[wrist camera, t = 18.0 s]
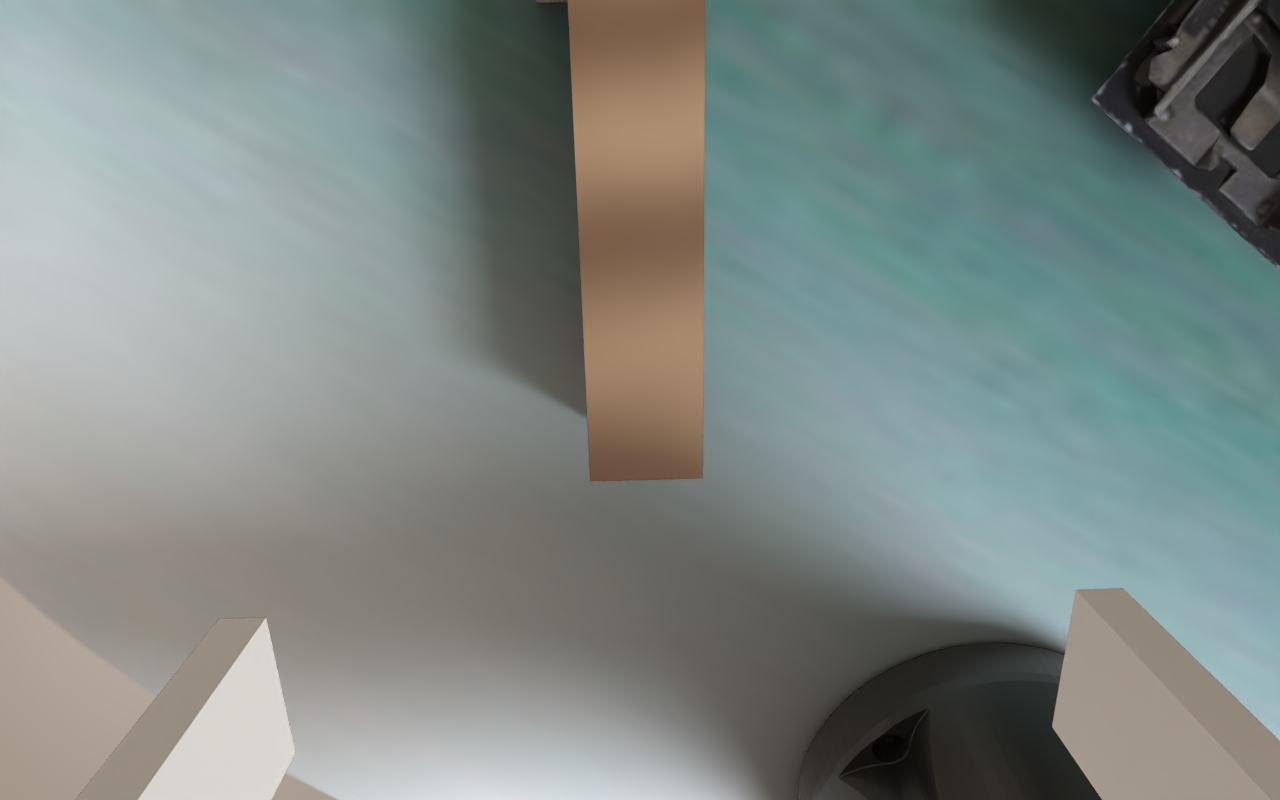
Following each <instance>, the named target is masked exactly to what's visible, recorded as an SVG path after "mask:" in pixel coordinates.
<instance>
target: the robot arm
mask: <svg viewBox="0 0 1280 800" xmlns="http://www.w3.org/2000/svg"><path fill="white" fill-rule="evenodd" d="M294 755H295V748H294V744H293V739H292V735H291V730H290V725H289V721H288V716H287V711H286V707H285V702H284V697H283V693H282V688H281V684H280V679H279V674H278V670H277V665H276V660H275V656H274V651H273V646H272V642H271V637H270V633H269V628H268V623H267V619H266V617H261V618H232V619H218V621H217V622H216V623H215V624H214V626H213V627H212V628H211V629H210V631H209V632H208V633H207V634H206V636H205V637H204V638H203V639H202V641H201V642H200V643H199V644H198V646H197V647H196V648H195V649H194V651H193V652H192V653H191V654H190V656H189V657H188V658H187V660H186V661H185V662H184V663H183V665H182V666H181V667H180V668H179V670H178V671H177V672H176V673H175V675H174V676H173V677H172V678H171V680H170V681H169V682H168V683H167V685H166V686H165V687H164V688H163V690H162V691H161V692H160V694H159V695H158V696H157V697H156V699H155V700H154V701H153V702H152V704H151V705H150V706H149V707H148V709H147V710H146V711H145V712H144V714H143V715H142V716H141V717H140V719H139V720H138V721H137V722H136V724H135V725H134V726H133V727H132V729H131V730H130V731H129V733H128V734H127V735H126V736H125V738H124V739H123V740H122V741H121V743H120V744H119V745H118V747H117V748H116V749H115V750H114V751H113V753H112V754H111V755H110V756H109V758H108V759H107V760H106V762H105V763H104V764H103V765H102V767H101V768H100V769H99V770H98V772H97V773H96V774H95V775H94V777H93V778H92V779H91V780H90V782H89V783H88V784H87V785H86V787H85V788H84V789H83V790H82V792H81V793H80V794H79V795H78V797H77V798H76V799H75V800H272V798H273V796H274V794H275V792H276V790H277V788H278V786H279V784H280V782H281V780H282V778H283V776H284V774H285V772H286V770H287V769H288V767H289V765H290V763H291V761H292V759H293V757H294ZM798 800H1280V740H1278V739H1277V738H1276V737H1275V736H1274V735H1273V734H1272V733H1271V732H1270V731H1269V730H1268V729H1267V728H1266V727H1265V726H1264V725H1263V724H1262V723H1261V722H1260V721H1259V720H1258V719H1257V718H1256V717H1255V716H1254V715H1253V714H1252V713H1251V712H1250V711H1249V710H1248V709H1247V708H1246V707H1245V706H1244V705H1242V704H1241V703H1240V702H1239V701H1238V700H1237V699H1236V698H1235V697H1234V696H1233V695H1232V694H1231V693H1230V692H1229V691H1228V690H1227V689H1226V688H1225V687H1224V686H1223V685H1222V684H1221V683H1220V682H1219V681H1218V680H1217V679H1216V678H1215V677H1214V676H1213V675H1212V674H1211V673H1210V672H1209V671H1208V670H1206V669H1205V668H1204V667H1203V666H1202V665H1201V664H1200V663H1199V662H1198V661H1197V660H1196V659H1195V658H1194V657H1193V656H1192V655H1191V654H1190V653H1189V652H1188V651H1187V650H1186V649H1185V648H1184V647H1183V646H1182V645H1181V644H1180V643H1179V642H1178V641H1177V640H1176V639H1175V638H1174V637H1173V636H1172V635H1170V634H1169V633H1168V632H1167V631H1166V630H1165V629H1164V628H1163V627H1162V626H1161V625H1160V624H1159V623H1158V622H1157V621H1156V620H1155V619H1154V618H1153V617H1152V616H1151V615H1150V614H1149V613H1148V612H1147V611H1146V610H1145V609H1144V608H1143V607H1142V606H1141V605H1140V604H1139V603H1138V602H1137V601H1136V600H1134V599H1133V598H1132V597H1131V596H1130V595H1129V594H1128V593H1127V592H1126V591H1125V590H1124V589H1123V588H1113V589H1083V590H1076V591H1075V597H1074V603H1073V609H1072V614H1071V620H1070V626H1069V632H1068V637H1067V643H1066V649H1065V655H1062V654H1059V653H1057V652H1053V651H1050V650H1046V649H1042V648H1037V647H1033V646H1026V645H1019V644H1005V643H989V644H974V645H966V646H959V647H954V648H949V649H945V650H940V651H936V652H933V653H930V654H926V655H923V656H920V657H918V658H915V659H912V660H910V661H907V662H905V663H903V664H901V665H898V666H896V667H894V668H892V669H890V670H888V671H887V672H885V673H883V674H881V675H880V676H878V677H876V678H875V679H873V680H871V681H870V682H869V683H867V684H866V685H864V686H863V687H861V688H860V689H859V690H858V691H856V692H855V693H854V694H852V695H851V696H850V697H849V698H848V699H847V700H846V701H845V702H844V703H842V704H841V705H840V707H839V708H838V709H837V710H836V711H835V712H834V713H833V714H832V715H831V716H830V718H829V719H828V720H827V721H826V722H825V724H824V725H823V727H822V728H821V729H820V731H819V732H818V734H817V736H816V737H815V739H814V741H813V742H812V744H811V746H810V748H809V750H808V753H807V755H806V758H805V760H804V763H803V767H802V770H801V774H800V779H799V786H798Z"/></svg>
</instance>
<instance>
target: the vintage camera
mask: <svg viewBox="0 0 1280 800" xmlns="http://www.w3.org/2000/svg"><path fill="white" fill-rule="evenodd" d="M1091 101H1092V102H1093V103H1094V104H1095V105H1097V106H1098V107H1099V108H1100V109H1101V110H1102V111H1103V112H1105V113H1106V114H1107V115H1108V116H1109V117H1110V118H1111V119H1112V120H1114V121H1115V122H1116V123H1117V124H1118V125H1119V126H1120V127H1122V128H1123V129H1124V130H1125V131H1126V132H1127V133H1128V134H1129V135H1131V136H1132V137H1133V138H1134V139H1135V140H1136V141H1137V142H1138V143H1140V144H1141V145H1142V146H1143V147H1144V148H1145V149H1146V150H1147V151H1149V152H1150V153H1151V154H1152V155H1153V156H1154V157H1155V158H1156V159H1157V160H1159V161H1160V162H1161V163H1162V164H1163V165H1164V166H1165V167H1166V168H1167V169H1168V170H1170V171H1171V172H1172V173H1173V174H1174V175H1175V176H1176V177H1177V178H1178V179H1179V180H1180V181H1181V182H1182V183H1184V184H1185V185H1186V186H1187V187H1188V188H1189V189H1190V190H1191V191H1192V192H1193V193H1194V194H1195V195H1196V196H1198V197H1199V198H1200V199H1201V200H1202V201H1203V202H1204V203H1205V204H1206V205H1207V206H1209V207H1210V208H1211V209H1212V210H1213V211H1214V212H1215V213H1216V214H1217V215H1218V216H1219V217H1221V218H1222V219H1223V220H1224V221H1225V222H1226V223H1227V224H1228V225H1229V226H1230V227H1232V228H1233V229H1234V230H1235V231H1236V232H1237V233H1238V234H1239V235H1240V236H1241V237H1242V238H1243V239H1245V240H1246V241H1247V242H1248V243H1249V244H1250V245H1251V246H1252V247H1254V248H1255V249H1256V250H1257V251H1258V252H1259V253H1260V254H1262V255H1263V256H1264V257H1265V258H1266V259H1267V260H1268V261H1269V262H1271V263H1272V264H1273V265H1274V266H1275V267H1280V0H1172V1H1171V2H1170V4H1169V5H1168V6H1167V7H1166V8H1165V10H1164V11H1163V12H1162V13H1161V14H1160V16H1159V17H1158V18H1157V19H1156V20H1155V22H1154V23H1153V24H1152V25H1151V26H1150V28H1149V29H1148V30H1147V31H1146V32H1145V34H1144V35H1143V36H1142V37H1141V39H1140V40H1139V41H1138V42H1137V43H1136V45H1135V46H1134V47H1133V48H1132V49H1131V51H1130V52H1129V53H1128V54H1127V55H1126V57H1125V58H1124V59H1123V60H1122V61H1121V63H1120V64H1119V65H1118V66H1117V67H1116V69H1115V70H1114V71H1113V72H1112V74H1111V75H1110V76H1109V77H1108V78H1107V80H1106V81H1105V82H1104V83H1103V84H1102V86H1101V87H1100V88H1099V89H1098V90H1097V92H1096V93H1095V94H1094V95H1093V97H1092V99H1091Z"/></svg>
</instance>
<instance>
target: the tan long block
mask: <svg viewBox="0 0 1280 800" xmlns="http://www.w3.org/2000/svg"><path fill="white" fill-rule="evenodd" d="M535 1H536V2H537V3H555V2H568V19H569V40H570V62H571V83H572V104H573V126H574V147H575V168H576V189H577V211H578V232H579V253H580V275H581V296H582V317H583V339H584V360H585V381H586V403H587V424H588V445H589V467H590V481H621V480H659V479H696V478H702V475H703V285H704V95H705V0H535Z"/></svg>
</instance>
